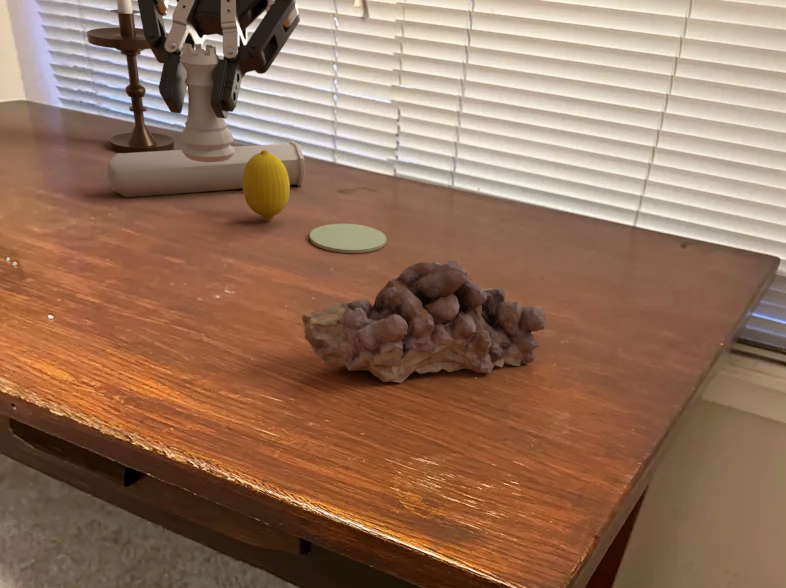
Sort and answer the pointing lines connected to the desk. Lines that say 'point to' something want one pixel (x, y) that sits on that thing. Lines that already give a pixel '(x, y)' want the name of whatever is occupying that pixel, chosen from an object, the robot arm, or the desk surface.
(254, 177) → the lemon
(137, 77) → the candlestick
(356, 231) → the coaster
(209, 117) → the rook chess piece
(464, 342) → the mineral specimen
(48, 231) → the desk surface
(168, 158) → the tube
